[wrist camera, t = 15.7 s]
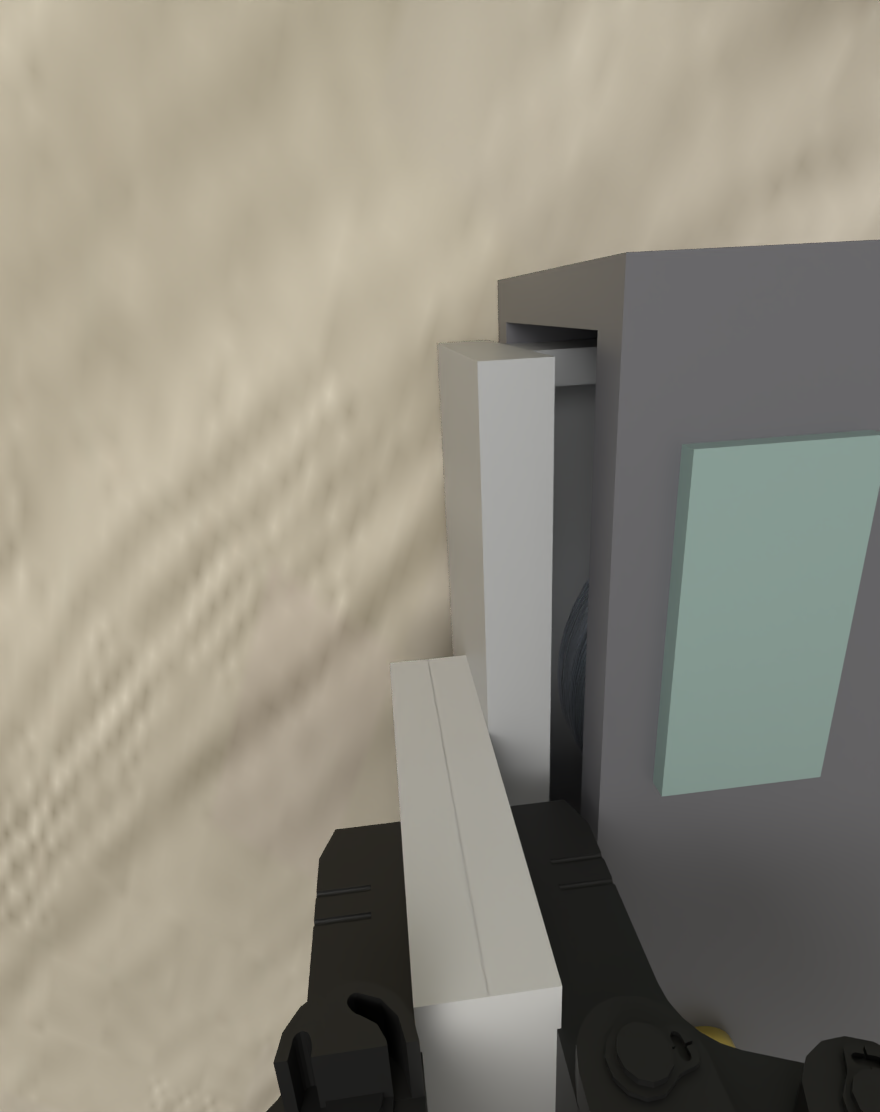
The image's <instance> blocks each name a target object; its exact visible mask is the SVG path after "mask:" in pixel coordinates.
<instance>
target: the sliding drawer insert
mask: <svg viewBox="0 0 880 1112" xmlns="http://www.w3.org/2000/svg"><path fill="white" fill-rule="evenodd" d="M437 352H438V372H439V391H440V411H441V430H442V450H443V470H444V489H445V509H446V528H447V548H448V568H449V587H450V607H451V626H452V646H453V656H462V655H466V657H467V661H468V664H469V668H470V671H471V674H472V678H473V681H474V685H475V688H476V691H477V695H478V698H479V702H480V705H481V709H482V712H483V715H484V719H485V722H486V726H487V729H488V733H489V736H490V740H491V743H492V746H493V750H494V753H495V757H496V760H497V764H498V767H499V770H500V774H501V777H502V781H503V784H504V788H505V791H506V795H507V798H508V801H509V805H510V806H515V805H524V804H532V803H540V802H548V801H556V800H565V801H566V802H567V803H569V804H570V805H571V806H572V807H573V808H574V809H575V810H576V811H577V812H578V813H579V814H580V815H581V786H582V758H583V757H582V755H581V753H580V751H579V748H578V746H577V744H576V742H575V740H574V738H573V736H572V734H571V732H570V730H569V727H568V725H567V722H566V720H565V717H564V715H563V712H562V707H561V703H560V698H559V694H558V678H557V669H558V658H559V649H560V645H561V641H562V636H563V632H564V628H565V626H566V623H567V620H568V618H569V615H570V612H571V610H572V607H573V605H574V603H575V601H576V599H577V597H578V596H579V594H580V592H581V590H582V588H583V586H584V584H585V583H586V582H587V580H588V579H589V562H590V534H591V506H592V478H593V450H594V422H595V393H596V365H597V339H583V340H566V341H550V342H534V343H518V344H502V343H498V342H494V341H490V340H479V341H463V342H447V343H437Z"/></svg>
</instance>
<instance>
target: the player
mask: <svg viewBox="0 0 880 1112" xmlns="http://www.w3.org/2000/svg"><path fill="white" fill-rule="evenodd" d="M498 321H499V343H502V344H518V343H534V342H550V341H566V340H583V339H597V365H596V393H595V422H594V450H593V478H592V506H591V534H590V562H589V590H588V618H587V646H586V674H585V702H584V730H583V758H582V786H581V816H582V817H583V818H584V819H585V820H586V821H587V822H588V823H589V825H590V828H591V830H592V832H593V835H594V837H595V839H596V842H597V844H598V846H599V848H600V851H601V855H602V858H604V860H605V862H606V865H607V867H608V869H609V872H610V874H611V876H612V881H613V884H615V885H616V888H617V890H618V892H619V895H620V897H621V899H622V901H623V904H624V906H625V908H626V911H627V913H628V915H629V918H630V920H631V922H632V924H633V927H634V929H635V931H636V934H637V936H638V938H639V941H640V943H641V945H642V948H643V950H644V952H645V954H646V957H647V959H648V961H649V964H650V966H651V968H652V971H653V973H654V975H655V977H656V980H657V982H658V984H659V986H660V988H661V989H662V991H663V993H664V995H665V996H666V998H667V1000H668V1001H669V1002H670V1004H671V1005H672V1006H673V1007H674V1008H675V1009H676V1011H677V1012H678V1013H679V1014H680V1015H681V1016H682V1018H684V1019H685V1020H686V1021H687V1022H689V1023H690V1024H691V1025H692V1026H694V1027H695V1028H696V1029H697V1030H698V1031H700V1032H701V1033H703V1034H705V1035H707V1036H709V1037H710V1038H712V1039H714V1040H716V1041H718V1042H719V1043H722V1044H725V1045H728V1046H731V1047H734V1048H737V1049H740V1050H744V1051H749V1052H754V1053H759V1054H763V1055H768V1056H773V1057H778V1058H783V1059H787V1060H792V1061H797V1062H802V1063H805V1059H806V1056H807V1055H808V1054H809V1053H810V1052H811V1051H812V1050H813V1049H814V1048H815V1047H816V1046H817V1045H818V1044H819V1043H820V1042H821V1041H823V1040H828V1039H833V1038H837V1037H842V1036H848V1037H853V1038H858V1039H863V1040H868V1041H873V1042H875V1043H877V1044H879V1045H880V240H864V241H844V242H824V243H804V244H784V245H764V246H744V247H724V248H704V249H684V250H664V251H644V252H626V253H621V254H617V255H612V256H608V257H603V258H598V259H594V260H589V261H585V262H580V263H575V264H571V265H566V266H562V267H557V268H553V269H548V270H543V271H539V272H534V273H530V274H525V275H520V276H516V277H511V278H507V279H502V280H498Z"/></svg>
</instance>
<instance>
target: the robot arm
mask: <svg viewBox="0 0 880 1112" xmlns="http://www.w3.org/2000/svg"><path fill="white" fill-rule="evenodd" d="M390 674H391V689H392V703H393V718H394V732H395V747H396V761H397V776H398V790H399V805H400V820H401V822H394V823H386V824H377V825H369V826H361V827H353V828H345V829H337V830H335V832H334V833H333V835H332V837H331V839H330V841H329V842H328V844H327V846H326V848H325V850H324V851H323V853H322V855H321V857H320V859H319V868H318V880H317V898H316V904H315V916H314V928H313V940H312V952H311V964H310V976H309V988H308V999H307V1002H306V1003H305V1004H304V1005H303V1006H301V1007H300V1008H299V1010H298V1011H297V1013H296V1014H295V1015H294V1017H293V1018H292V1020H291V1021H290V1023H289V1024H288V1026H287V1027H286V1028H285V1030H284V1031H283V1033H282V1036H281V1040H280V1043H279V1046H278V1050H277V1053H276V1057H275V1060H274V1067H275V1071H276V1075H277V1080H278V1084H279V1088H280V1093H281V1096H280V1097H279V1099H278V1100H277V1101H276V1102H275V1103H274V1104H273V1105H272V1106H271V1107H270V1108H269V1109H268V1110H267V1111H266V1112H880V1045H879V1044H877V1043H875V1042H873V1041H868V1040H863V1039H858V1038H853V1037H848V1036H842V1037H837V1038H833V1039H828V1040H823V1041H821V1042H820V1043H819V1044H818V1045H817V1046H816V1047H815V1048H814V1049H813V1050H812V1051H811V1052H810V1053H809V1054H808V1055H807V1056H806V1059H805V1063H802V1062H797V1061H792V1060H787V1059H783V1058H778V1057H773V1056H768V1055H763V1054H759V1053H754V1052H749V1051H744V1050H740V1049H737V1048H734V1047H731V1046H728V1045H725V1044H722V1043H719V1042H718V1041H716V1040H714V1039H712V1038H710V1037H709V1036H707V1035H705V1034H703V1033H701V1032H700V1031H698V1030H697V1029H696V1028H695V1027H694V1026H692V1025H691V1024H690V1023H689V1022H687V1021H686V1020H685V1019H684V1018H682V1016H681V1015H680V1014H679V1013H678V1012H677V1011H676V1009H675V1008H674V1007H673V1006H672V1005H671V1004H670V1002H669V1001H668V1000H667V998H666V996H665V995H664V993H663V991H662V989H661V988H660V986H659V984H658V982H657V980H656V977H655V975H654V973H653V971H652V968H651V966H650V964H649V961H648V959H647V957H646V954H645V952H644V950H643V948H642V945H641V943H640V941H639V938H638V936H637V934H636V931H635V929H634V927H633V924H632V922H631V920H630V918H629V915H628V913H627V911H626V908H625V906H624V904H623V901H622V899H621V897H620V895H619V892H618V890H617V888H616V885H615V884H613V881H612V876H611V874H610V872H609V869H608V867H607V865H606V862H605V860H604V858H602V855H601V851H600V848H599V846H598V844H597V842H596V839H595V837H594V835H593V832H592V830H591V828H590V825H589V823H588V822H587V821H586V820H585V819H584V818H583V817H582V816H581V815H580V814H579V813H578V812H577V811H576V810H575V809H574V808H573V807H572V806H571V805H570V804H569V803H567V802H566V801H565V800H556V801H548V802H540V803H532V804H524V805H515V806H510V805H509V801H508V798H507V795H506V791H505V788H504V784H503V781H502V777H501V774H500V770H499V767H498V764H497V760H496V757H495V753H494V750H493V746H492V743H491V740H490V736H489V733H488V729H487V726H486V722H485V719H484V715H483V712H482V709H481V705H480V702H479V698H478V695H477V691H476V688H475V685H474V681H473V678H472V674H471V671H470V668H469V664H468V661H467V657H466V655H462V656H453V657H443V658H433V659H423V660H413V661H404V662H394V663H390Z"/></svg>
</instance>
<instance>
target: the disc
mask: <svg viewBox="0 0 880 1112" xmlns="http://www.w3.org/2000/svg"><path fill="white" fill-rule="evenodd" d="M588 590H589V579H588V580H587V582H586V583H585V584H584V586H583V588H582V590H581V592H580V594H579V596H578V597H577V599H576V601H575V603H574V605H573V607H572V610H571V612H570V615H569V618H568V620H567V623H566V626H565V628H564V632H563V636H562V641H561V645H560V649H559V658H558V669H557V678H558V694H559V698H560V703H561V707H562V712H563V715H564V717H565V720H566V722H567V725H568V727H569V730H570V732H571V734H572V736H573V738H574V740H575V742H576V744H577V746H578V748H579V751H580V753H581V755H582V757H583V730H584V702H585V674H586V646H587V618H588Z"/></svg>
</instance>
